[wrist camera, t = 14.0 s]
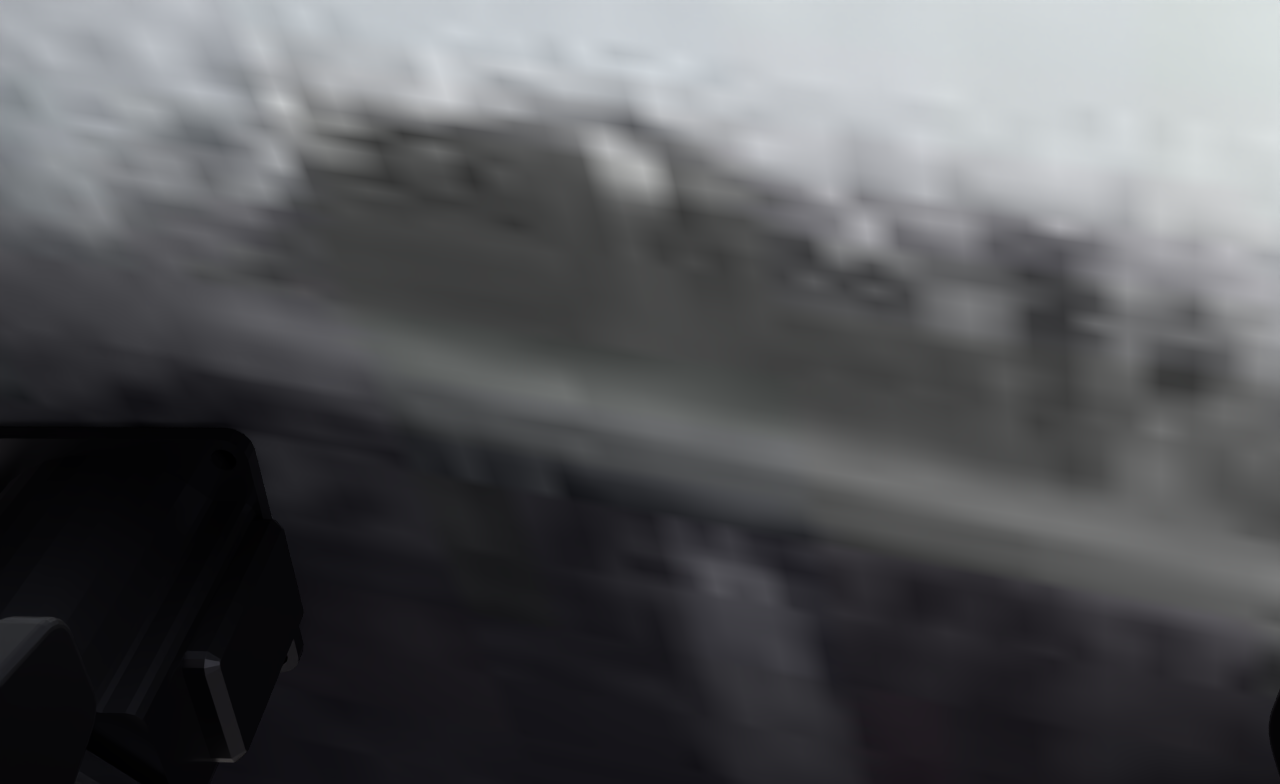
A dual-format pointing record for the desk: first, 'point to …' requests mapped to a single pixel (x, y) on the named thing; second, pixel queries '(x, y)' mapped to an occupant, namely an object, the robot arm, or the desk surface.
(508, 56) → the desk surface
